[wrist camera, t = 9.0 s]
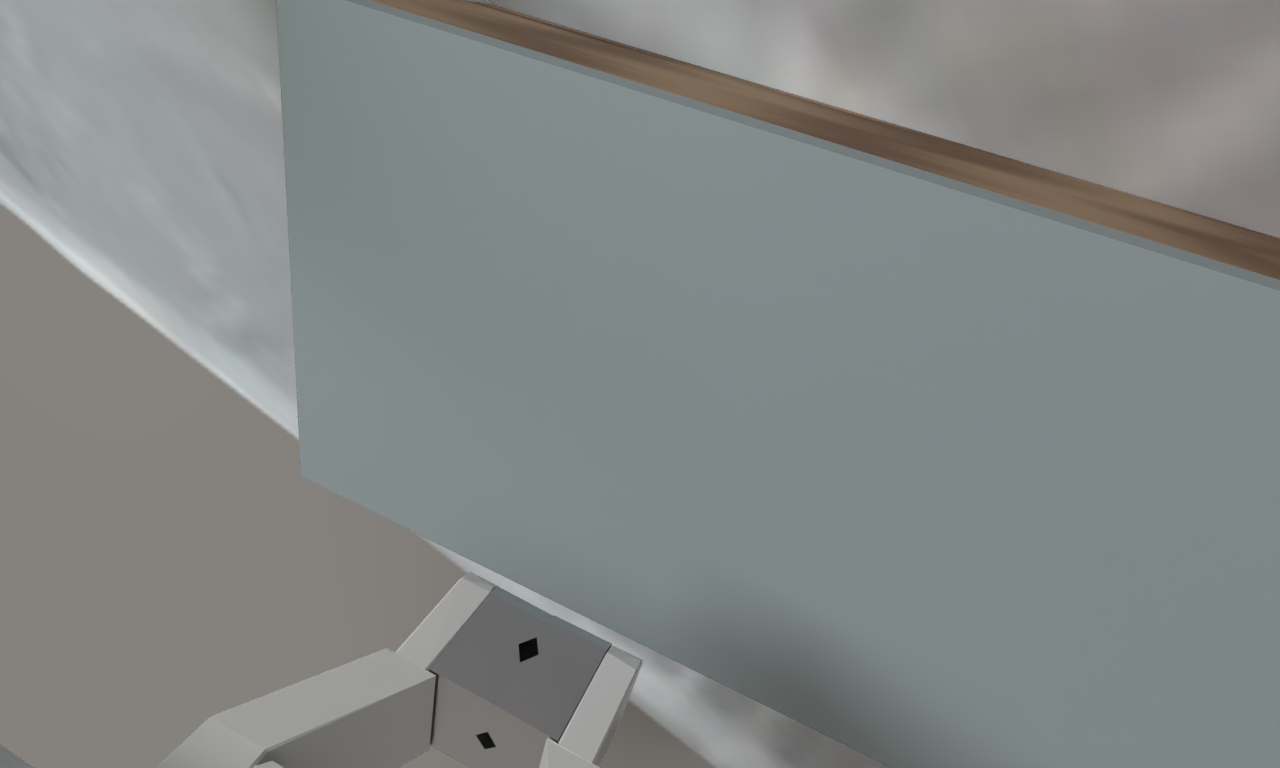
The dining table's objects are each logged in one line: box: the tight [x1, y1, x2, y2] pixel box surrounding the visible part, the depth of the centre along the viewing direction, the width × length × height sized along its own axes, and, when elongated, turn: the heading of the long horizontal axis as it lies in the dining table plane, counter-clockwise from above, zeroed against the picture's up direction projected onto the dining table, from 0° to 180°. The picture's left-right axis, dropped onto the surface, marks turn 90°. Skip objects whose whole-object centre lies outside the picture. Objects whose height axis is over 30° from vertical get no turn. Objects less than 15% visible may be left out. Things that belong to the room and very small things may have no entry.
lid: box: [276, 0, 1280, 768], centre depth 13 cm, size 22×12×1 cm, turn 76°
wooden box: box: [372, 0, 1280, 280], centre depth 16 cm, size 22×12×6 cm, turn 76°
